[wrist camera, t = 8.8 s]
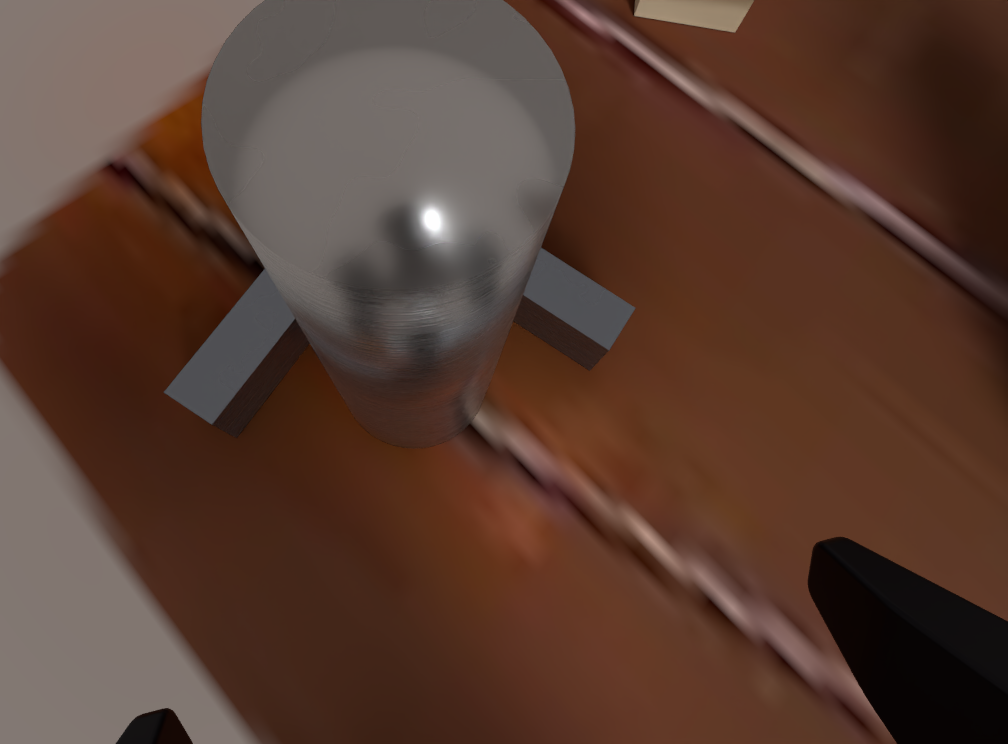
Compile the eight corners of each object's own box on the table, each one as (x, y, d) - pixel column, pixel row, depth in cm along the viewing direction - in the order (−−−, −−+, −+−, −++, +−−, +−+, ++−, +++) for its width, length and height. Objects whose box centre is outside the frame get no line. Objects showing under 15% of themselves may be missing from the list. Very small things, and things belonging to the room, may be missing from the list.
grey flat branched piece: (622, 364, 23) (645, 343, 21) (198, 445, 21) (168, 432, 18) (560, 129, 25) (575, 84, 22) (166, 182, 23) (135, 139, 20)
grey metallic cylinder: (438, 476, 21) (454, 361, 8) (313, 400, 22) (120, 160, 8) (512, 355, 23) (637, 76, 9) (393, 283, 23) (341, -95, 9)
